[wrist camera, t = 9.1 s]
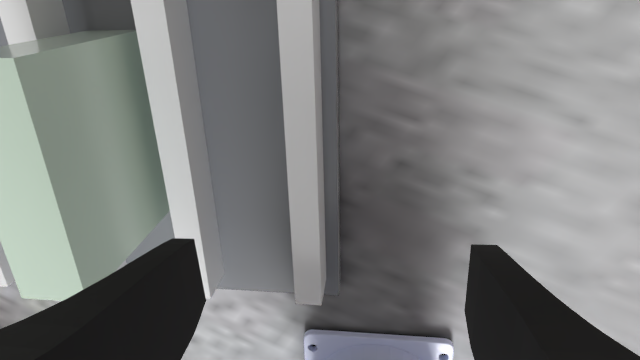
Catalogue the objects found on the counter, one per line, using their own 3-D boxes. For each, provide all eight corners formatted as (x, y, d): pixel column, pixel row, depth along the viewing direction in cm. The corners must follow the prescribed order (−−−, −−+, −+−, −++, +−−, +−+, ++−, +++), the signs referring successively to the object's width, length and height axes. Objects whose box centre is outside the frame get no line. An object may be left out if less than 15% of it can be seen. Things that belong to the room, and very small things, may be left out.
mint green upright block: (174, 205, 21) (87, 302, 15) (126, 204, 22) (21, 298, 15) (142, 29, 18) (13, 58, 12) (86, 30, 18) (-69, 58, 12)
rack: (340, 283, 23) (334, 323, 20) (24, 266, 25) (-18, 300, 23) (336, -132, 16) (327, -154, 13) (-109, -106, 18) (-196, -120, 15)
